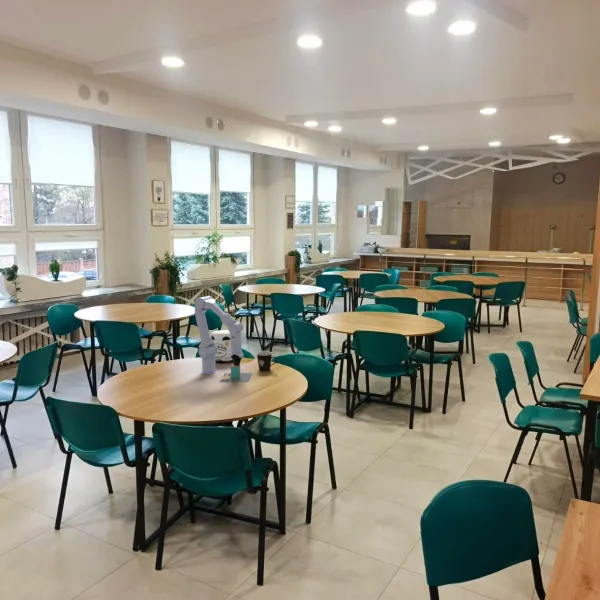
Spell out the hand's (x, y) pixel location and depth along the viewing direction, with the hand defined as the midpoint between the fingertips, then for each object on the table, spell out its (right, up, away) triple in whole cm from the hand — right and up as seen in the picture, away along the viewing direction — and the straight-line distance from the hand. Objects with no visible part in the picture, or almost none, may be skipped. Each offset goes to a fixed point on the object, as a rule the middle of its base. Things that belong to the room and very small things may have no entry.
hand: (237, 367), depth 305 cm
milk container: (-12, 0, +38) cm, 40 cm away
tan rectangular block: (0, -5, -4) cm, 7 cm away
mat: (0, -6, -2) cm, 6 cm away
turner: (-6, -5, -1) cm, 8 cm away
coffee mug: (+16, -4, +12) cm, 20 cm away
